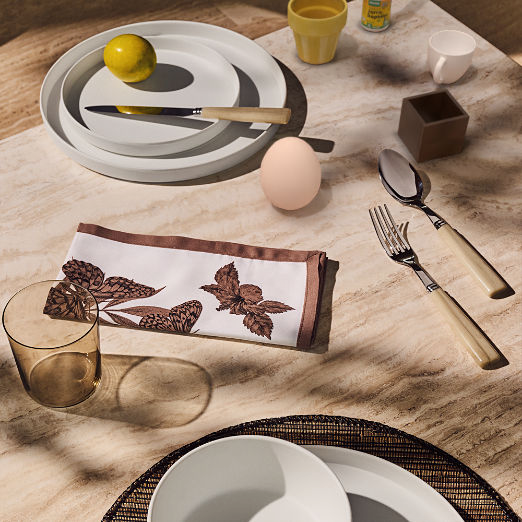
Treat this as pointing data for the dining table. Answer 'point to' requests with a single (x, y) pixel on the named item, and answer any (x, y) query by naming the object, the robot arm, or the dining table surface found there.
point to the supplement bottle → (375, 14)
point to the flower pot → (317, 27)
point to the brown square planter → (432, 125)
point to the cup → (450, 55)
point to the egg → (290, 173)
